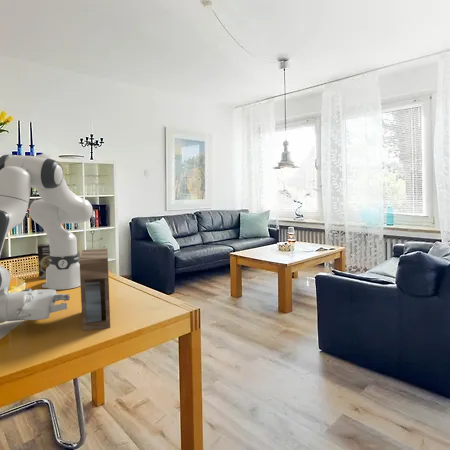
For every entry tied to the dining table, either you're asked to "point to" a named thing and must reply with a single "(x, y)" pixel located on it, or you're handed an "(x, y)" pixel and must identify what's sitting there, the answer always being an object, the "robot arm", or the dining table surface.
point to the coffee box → (43, 259)
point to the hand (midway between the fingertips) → (68, 301)
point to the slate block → (93, 302)
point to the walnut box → (95, 272)
